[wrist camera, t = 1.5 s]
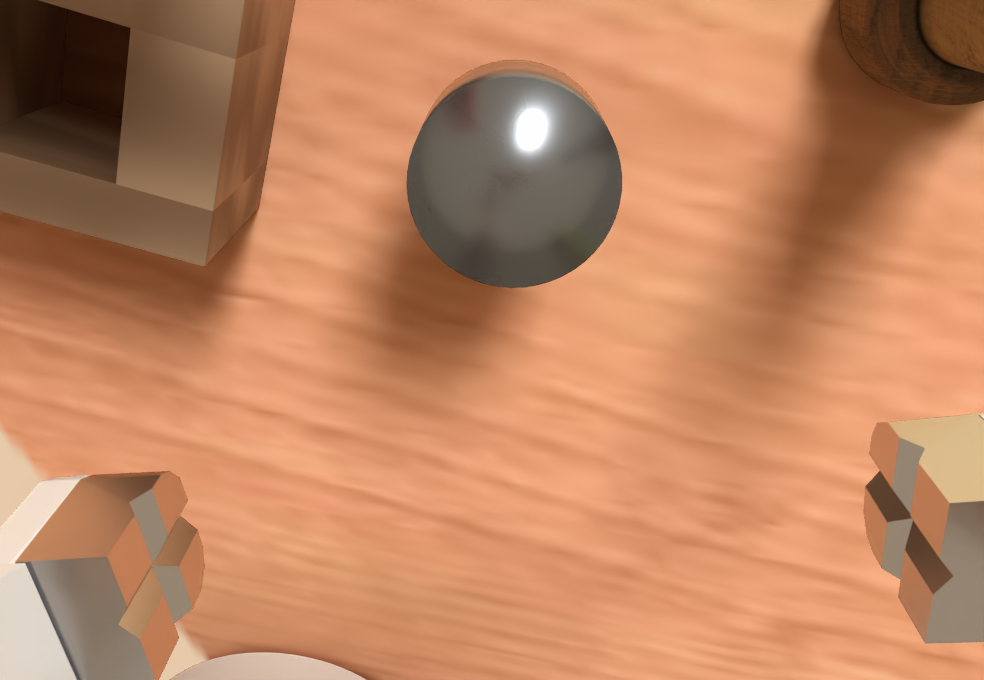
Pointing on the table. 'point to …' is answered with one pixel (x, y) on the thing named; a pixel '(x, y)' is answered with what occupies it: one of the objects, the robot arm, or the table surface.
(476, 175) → the grey domed cylinder
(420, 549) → the table surface
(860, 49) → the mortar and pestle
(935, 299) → the table surface
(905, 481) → the robot arm
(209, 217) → the block
